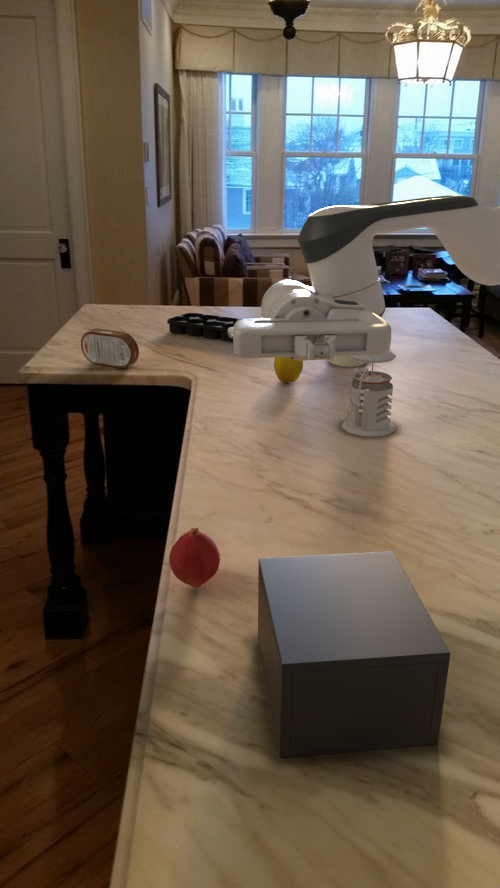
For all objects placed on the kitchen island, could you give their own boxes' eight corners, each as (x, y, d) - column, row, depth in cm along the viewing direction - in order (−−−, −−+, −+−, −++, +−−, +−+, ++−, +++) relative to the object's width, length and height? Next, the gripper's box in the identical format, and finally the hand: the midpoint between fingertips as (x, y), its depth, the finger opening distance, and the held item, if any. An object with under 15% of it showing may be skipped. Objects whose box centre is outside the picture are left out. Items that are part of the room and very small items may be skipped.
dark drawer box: (257, 638, 74) (258, 558, 70) (386, 630, 75) (393, 550, 71) (279, 758, 59) (281, 664, 55) (438, 744, 61) (450, 652, 57)
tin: (140, 367, 165) (138, 332, 162) (133, 371, 163) (130, 335, 159) (88, 360, 171) (85, 326, 168) (80, 363, 169) (77, 328, 165)
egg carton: (182, 323, 207) (181, 311, 206) (280, 331, 199) (280, 317, 198) (157, 337, 192) (156, 324, 190) (262, 346, 184) (263, 332, 182)
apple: (303, 386, 152) (304, 350, 149) (274, 386, 152) (274, 350, 149) (301, 377, 158) (302, 343, 155) (273, 377, 158) (273, 343, 155)
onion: (161, 584, 83) (157, 524, 80) (200, 567, 86) (198, 509, 83) (189, 606, 79) (187, 544, 76) (230, 587, 82) (229, 527, 79)
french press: (403, 424, 132) (416, 289, 122) (377, 444, 123) (388, 300, 113) (356, 413, 137) (364, 283, 127) (327, 432, 128) (334, 293, 118)
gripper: (225, 304, 94) (234, 329, 81) (375, 302, 96) (406, 325, 83) (226, 350, 97) (234, 381, 84) (372, 347, 99) (402, 376, 86)
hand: (321, 353), depth 84 cm, fingers closed
